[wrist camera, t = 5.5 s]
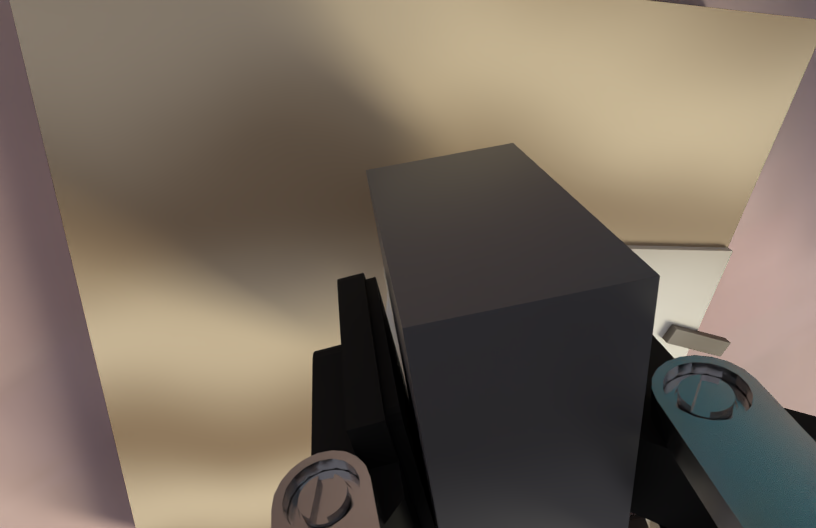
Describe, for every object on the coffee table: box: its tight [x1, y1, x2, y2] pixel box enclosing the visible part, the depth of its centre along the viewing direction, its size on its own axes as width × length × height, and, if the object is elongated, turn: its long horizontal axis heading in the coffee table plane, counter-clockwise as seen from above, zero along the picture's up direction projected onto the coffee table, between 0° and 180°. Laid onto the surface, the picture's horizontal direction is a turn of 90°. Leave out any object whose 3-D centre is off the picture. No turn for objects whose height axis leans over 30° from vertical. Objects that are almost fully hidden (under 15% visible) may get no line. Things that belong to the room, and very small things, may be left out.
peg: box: [366, 143, 660, 528], centre depth 11 cm, size 13×2×7 cm, turn 8°
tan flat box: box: [9, 0, 816, 528], centre depth 17 cm, size 22×17×4 cm
